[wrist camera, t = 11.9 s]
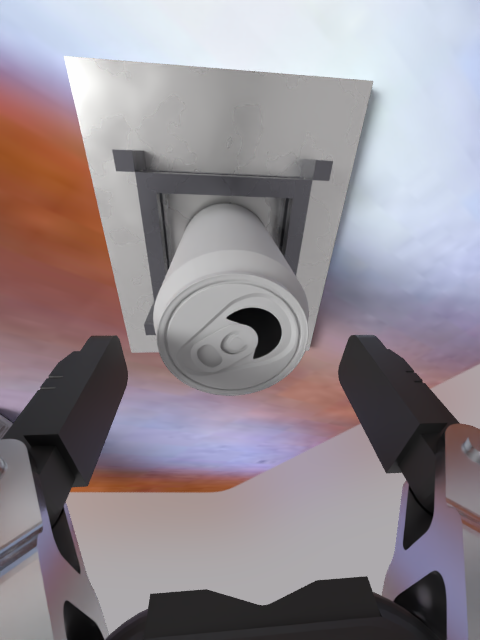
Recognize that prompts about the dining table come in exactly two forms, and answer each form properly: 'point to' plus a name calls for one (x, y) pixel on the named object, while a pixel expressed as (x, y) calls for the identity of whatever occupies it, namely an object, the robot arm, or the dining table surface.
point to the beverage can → (230, 306)
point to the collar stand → (213, 165)
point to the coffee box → (4, 426)
